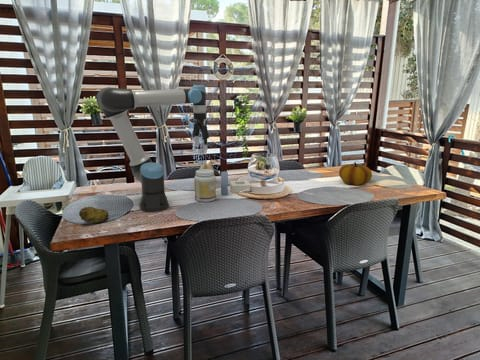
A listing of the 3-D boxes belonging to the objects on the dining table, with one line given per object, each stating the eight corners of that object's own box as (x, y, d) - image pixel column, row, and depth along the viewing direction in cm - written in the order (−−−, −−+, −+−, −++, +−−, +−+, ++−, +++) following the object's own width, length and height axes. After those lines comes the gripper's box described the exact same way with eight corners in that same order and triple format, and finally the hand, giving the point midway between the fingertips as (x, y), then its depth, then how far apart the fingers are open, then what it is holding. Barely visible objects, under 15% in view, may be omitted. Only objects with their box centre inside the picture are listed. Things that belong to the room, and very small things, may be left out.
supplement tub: (220, 198, 191) (219, 170, 187) (206, 204, 182) (206, 174, 177) (204, 194, 198) (203, 167, 193) (190, 199, 188) (189, 171, 184)
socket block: (251, 192, 204) (251, 185, 203) (232, 192, 202) (232, 185, 201) (247, 186, 215) (247, 180, 214) (229, 187, 213) (229, 180, 212)
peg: (228, 195, 197) (228, 173, 193) (221, 195, 196) (221, 173, 192) (227, 193, 200) (227, 171, 197) (220, 193, 200) (220, 171, 196)
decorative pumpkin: (367, 189, 212) (370, 166, 208) (334, 184, 223) (335, 162, 219) (373, 182, 229) (376, 161, 225) (341, 177, 240) (343, 157, 236)
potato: (111, 222, 155) (109, 206, 153) (81, 227, 149) (79, 211, 147) (108, 216, 162) (106, 201, 160) (79, 221, 156) (77, 205, 154)
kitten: (204, 179, 231) (204, 159, 227) (217, 181, 228) (217, 160, 224) (195, 185, 217) (194, 163, 213) (209, 186, 214) (208, 164, 210)
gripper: (214, 113, 182) (214, 151, 188) (198, 111, 204) (199, 144, 209) (201, 114, 179) (202, 152, 185) (186, 111, 200) (188, 145, 206)
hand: (200, 148), depth 197 cm, fingers open, 13 cm apart
